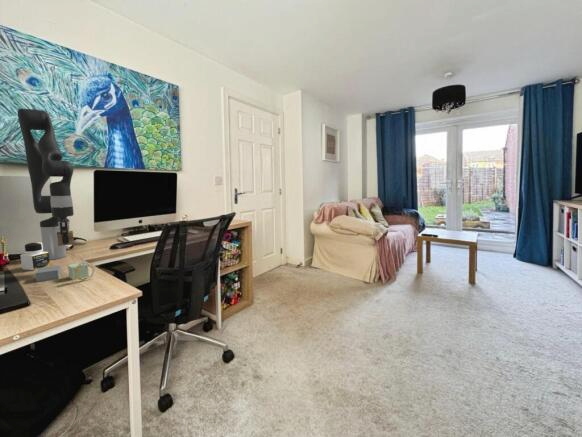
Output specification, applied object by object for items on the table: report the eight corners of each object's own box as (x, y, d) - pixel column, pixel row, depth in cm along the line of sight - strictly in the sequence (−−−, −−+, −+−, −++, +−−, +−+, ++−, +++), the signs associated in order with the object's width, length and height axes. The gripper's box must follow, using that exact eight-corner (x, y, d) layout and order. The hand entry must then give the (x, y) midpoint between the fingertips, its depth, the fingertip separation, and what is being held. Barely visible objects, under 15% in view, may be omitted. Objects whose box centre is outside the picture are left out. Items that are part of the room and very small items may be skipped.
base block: (40, 277, 117) (39, 268, 116) (61, 274, 121) (60, 265, 120) (36, 282, 111) (35, 273, 111) (58, 279, 115) (57, 270, 114)
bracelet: (75, 283, 110) (73, 264, 109) (74, 281, 112) (72, 262, 111) (96, 279, 114) (94, 261, 113) (94, 277, 117) (93, 259, 116)
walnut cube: (58, 243, 125) (57, 231, 124) (73, 241, 128) (72, 230, 128) (58, 245, 121) (56, 233, 120) (73, 244, 124) (72, 232, 123)
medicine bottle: (33, 270, 124) (30, 245, 123) (21, 269, 126) (18, 244, 124) (50, 266, 131) (47, 241, 130) (38, 265, 133) (35, 241, 131)
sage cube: (69, 277, 117) (67, 265, 116) (84, 274, 121) (83, 262, 120) (73, 280, 113) (71, 267, 113) (88, 276, 118) (87, 264, 117)
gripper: (52, 204, 125) (56, 240, 128) (49, 207, 114) (54, 246, 117) (72, 203, 130) (76, 238, 132) (72, 206, 119) (76, 244, 121)
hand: (66, 242), depth 124 cm, fingers closed on walnut cube, 5 cm apart
